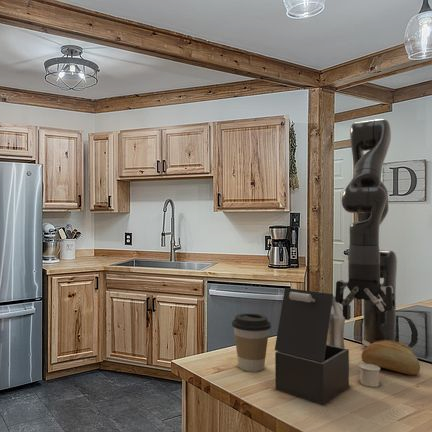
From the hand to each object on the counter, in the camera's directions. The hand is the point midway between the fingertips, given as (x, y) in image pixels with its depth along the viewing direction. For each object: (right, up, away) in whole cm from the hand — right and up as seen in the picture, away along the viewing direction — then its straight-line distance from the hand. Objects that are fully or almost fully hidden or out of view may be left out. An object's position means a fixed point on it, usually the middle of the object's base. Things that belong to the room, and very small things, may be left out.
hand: (364, 322), depth 115 cm
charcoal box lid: (-18, +1, -5) cm, 19 cm away
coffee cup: (-27, -17, +13) cm, 34 cm away
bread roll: (+13, -17, +11) cm, 24 cm away
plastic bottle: (-1, -17, +16) cm, 23 cm away
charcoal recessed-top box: (-15, -17, -2) cm, 22 cm away
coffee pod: (+2, -17, +1) cm, 17 cm away
